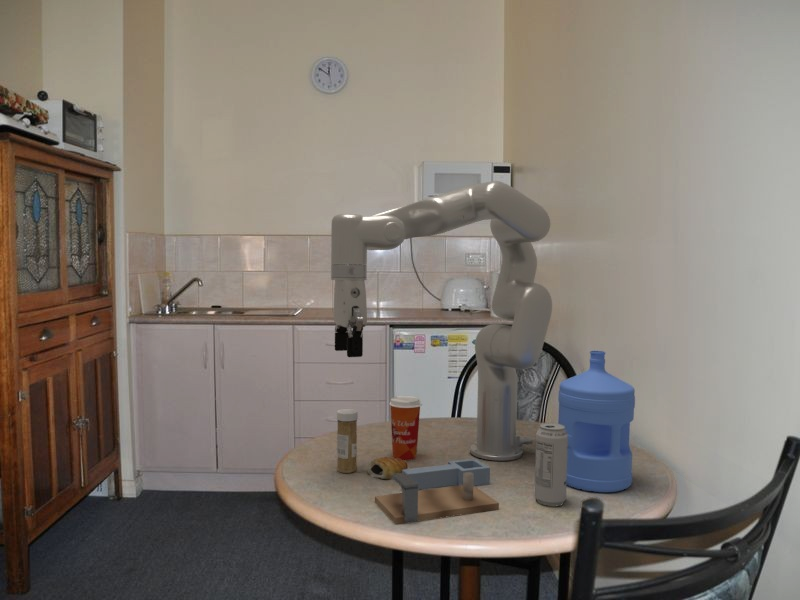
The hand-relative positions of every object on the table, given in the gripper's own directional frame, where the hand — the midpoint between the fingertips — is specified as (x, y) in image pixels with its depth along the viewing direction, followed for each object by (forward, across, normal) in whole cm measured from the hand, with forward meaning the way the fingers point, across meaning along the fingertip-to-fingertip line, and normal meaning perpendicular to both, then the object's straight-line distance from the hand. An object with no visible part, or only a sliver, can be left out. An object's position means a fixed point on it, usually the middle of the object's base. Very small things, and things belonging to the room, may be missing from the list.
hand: (348, 353), depth 136 cm
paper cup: (+27, +9, -17) cm, 33 cm away
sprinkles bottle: (+27, +4, -1) cm, 27 cm away
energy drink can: (+27, -26, -34) cm, 51 cm away
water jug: (+27, -19, -50) cm, 60 cm away
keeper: (+27, -23, -4) cm, 35 cm away
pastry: (+27, -1, -9) cm, 29 cm away
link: (+27, -11, -18) cm, 34 cm away
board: (+27, -21, -12) cm, 36 cm away
